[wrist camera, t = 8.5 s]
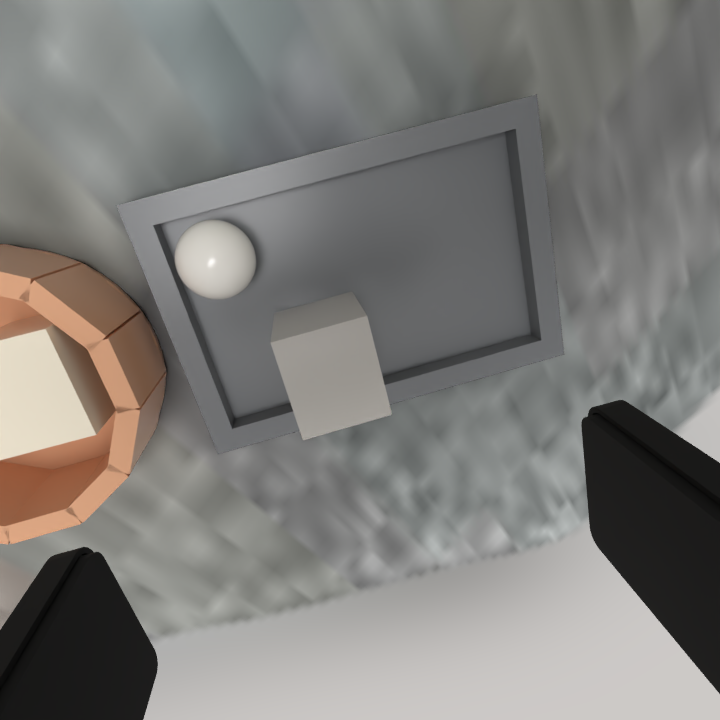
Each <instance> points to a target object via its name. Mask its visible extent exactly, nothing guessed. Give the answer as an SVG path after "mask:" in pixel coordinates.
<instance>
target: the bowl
mask: <svg viewBox="0 0 720 720" xmlns="http://www.w3.org/2000/svg"><path fill="white" fill-rule="evenodd" d="M37 315H42V316H44V317H45V318H46V319H48V320H49V321H50V322H52V323H53V324H54V325H56V326H57V327H58V328H60V329H61V330H62V331H64V332H65V333H66V334H68V335H69V336H70V337H72V338H73V339H74V340H76V341H77V342H78V343H80V344H81V345H82V346H84V347H85V348H86V349H87V350H88V352H89V354H90V356H91V358H92V360H93V363H94V365H95V367H96V369H97V371H98V373H99V375H100V377H101V379H102V381H103V383H104V386H105V388H106V390H107V392H108V394H109V396H110V398H111V400H112V402H113V404H114V406H115V409H116V411H115V412H114V414H113V415H112V416H111V417H110V418H109V420H108V421H107V422H106V423H105V425H104V426H103V427H102V428H101V430H100V431H99V432H98V433H97V435H94V436H90V437H86V438H82V439H79V440H75V441H71V442H67V443H64V444H60V445H56V446H52V447H48V448H45V449H41V450H37V451H33V452H30V453H26V454H22V455H18V456H15V457H11V458H7V459H3V460H0V543H2V544H9V543H11V544H13V543H17V542H20V541H24V540H27V539H31V538H34V537H37V536H41V535H44V534H48V533H51V532H55V531H58V530H62V529H65V528H68V527H72V526H75V525H79V524H81V523H82V522H84V521H85V520H86V519H87V518H88V517H89V516H90V515H91V514H92V513H93V512H94V511H95V510H96V509H97V508H98V507H99V506H100V505H101V504H102V503H103V502H104V501H105V500H106V499H107V498H108V497H109V496H110V495H111V494H112V493H113V492H114V491H115V490H116V489H117V488H118V487H119V486H120V485H121V484H122V483H123V482H124V481H125V480H126V479H127V478H128V477H129V475H130V473H131V471H132V470H133V468H134V466H135V464H136V463H137V461H138V459H139V457H140V456H141V454H142V452H143V450H144V449H145V447H146V445H147V444H148V442H149V440H150V438H151V437H152V435H153V433H154V431H155V430H156V428H157V425H158V419H159V413H160V410H161V408H162V404H163V400H164V396H165V387H166V373H167V372H166V367H165V363H164V358H163V353H162V350H161V347H160V344H159V341H158V338H157V336H156V334H155V332H154V330H153V328H152V326H151V324H150V322H149V321H148V319H147V318H146V316H145V315H144V313H143V312H142V310H141V309H140V308H139V307H138V306H137V305H136V303H135V302H134V301H133V300H132V299H131V298H130V296H128V295H127V294H126V293H125V292H124V291H123V290H122V289H121V288H120V287H119V286H118V285H116V284H115V283H114V282H112V281H111V280H110V279H108V278H107V277H105V276H104V275H103V274H101V273H99V272H98V271H96V270H94V269H92V268H91V267H89V266H87V265H85V264H83V263H81V262H79V261H76V260H74V259H71V258H69V257H66V256H63V255H59V254H56V253H53V252H49V251H43V250H38V249H32V248H21V247H17V246H12V245H8V244H1V245H0V327H2V326H4V325H6V324H8V323H11V322H13V321H17V320H21V319H25V318H29V317H33V316H37Z"/></svg>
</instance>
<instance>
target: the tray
mask: <svg viewBox="0 0 720 720" xmlns="http://www.w3.org/2000/svg"><path fill="white" fill-rule="evenodd" d="M116 206H117V209H118V211H119V214H120V216H121V218H122V221H123V223H124V226H125V228H126V231H127V233H128V236H129V238H130V240H131V243H132V245H133V248H134V250H135V253H136V255H137V258H138V260H139V262H140V265H141V267H142V270H143V272H144V275H145V277H146V280H147V282H148V284H149V287H150V289H151V292H152V294H153V297H154V299H155V302H156V304H157V306H158V309H159V311H160V314H161V316H162V319H163V321H164V324H165V326H166V328H167V331H168V333H169V336H170V338H171V341H172V343H173V346H174V348H175V350H176V353H177V355H178V358H179V360H180V363H181V365H182V368H183V370H184V372H185V375H186V377H187V380H188V382H189V385H190V387H191V390H192V392H193V394H194V397H195V399H196V402H197V404H198V407H199V409H200V412H201V414H202V416H203V419H204V421H205V424H206V426H207V429H208V431H209V433H210V436H211V438H212V441H213V443H214V446H215V448H216V451H217V453H218V454H220V453H224V452H227V451H231V450H234V449H238V448H241V447H245V446H248V445H252V444H255V443H259V442H262V441H266V440H269V439H272V438H276V437H279V436H283V435H286V434H290V433H293V432H297V431H300V430H299V427H298V424H297V421H296V418H295V415H294V412H293V409H292V406H291V403H290V400H289V397H288V394H287V391H286V388H285V385H284V382H283V379H282V376H281V373H280V370H279V367H278V364H277V361H276V358H275V355H274V352H273V349H272V346H271V343H270V342H271V335H272V328H273V321H274V313H276V312H279V311H283V310H287V309H290V308H294V307H297V306H301V305H305V304H308V303H312V302H315V301H319V300H323V299H326V298H330V297H333V296H337V295H341V294H344V293H348V292H351V291H352V292H353V294H354V295H355V297H356V299H357V300H358V302H359V303H360V305H361V307H362V308H363V310H364V311H365V313H366V315H367V317H368V321H369V325H370V329H371V333H372V337H373V341H374V345H375V349H376V353H377V357H378V361H379V365H380V369H381V373H382V376H383V380H384V384H385V388H386V392H387V396H388V400H389V404H394V403H397V402H401V401H404V400H408V399H411V398H414V397H418V396H421V395H425V394H428V393H432V392H435V391H439V390H442V389H446V388H449V387H453V386H456V385H460V384H463V383H466V382H470V381H473V380H477V379H480V378H484V377H487V376H491V375H494V374H498V373H501V372H505V371H508V370H511V369H515V368H518V367H522V366H525V365H529V364H532V363H536V362H539V361H543V360H546V359H550V358H553V357H557V356H560V355H563V354H564V347H563V338H562V328H561V319H560V309H559V300H558V290H557V281H556V271H555V262H554V252H553V243H552V233H551V224H550V214H549V205H548V195H547V185H546V176H545V166H544V157H543V147H542V138H541V128H540V119H539V109H538V100H537V94H536V95H533V96H529V97H525V98H521V99H517V100H514V101H510V102H506V103H502V104H498V105H495V106H491V107H487V108H483V109H479V110H476V111H472V112H468V113H464V114H460V115H457V116H453V117H449V118H445V119H441V120H438V121H434V122H430V123H426V124H423V125H419V126H415V127H411V128H407V129H404V130H400V131H396V132H392V133H388V134H385V135H381V136H377V137H373V138H369V139H366V140H362V141H358V142H354V143H350V144H347V145H343V146H339V147H335V148H332V149H328V150H324V151H320V152H316V153H313V154H309V155H305V156H301V157H297V158H294V159H290V160H286V161H282V162H278V163H275V164H271V165H267V166H263V167H259V168H256V169H252V170H248V171H244V172H240V173H237V174H233V175H229V176H225V177H222V178H218V179H214V180H210V181H206V182H203V183H199V184H195V185H191V186H187V187H184V188H180V189H176V190H172V191H168V192H165V193H161V194H157V195H153V196H149V197H146V198H142V199H138V200H134V201H131V202H127V203H123V204H119V205H116ZM205 220H221V221H225V222H228V223H231V224H233V225H235V226H236V227H238V228H239V229H240V230H242V231H243V232H244V233H245V234H246V235H247V237H248V238H249V239H250V241H251V243H252V245H253V247H254V250H255V254H256V270H255V273H254V276H253V278H252V280H251V282H250V284H249V285H248V286H247V287H246V288H245V289H244V290H243V291H242V292H240V293H239V294H237V295H235V296H233V297H231V298H227V299H219V300H216V299H208V298H205V297H202V296H200V295H198V294H196V293H194V292H193V291H191V290H190V289H189V288H188V287H187V286H186V285H185V284H184V283H183V281H182V280H181V278H180V277H179V275H178V272H177V270H176V266H175V249H176V245H177V243H178V240H179V239H180V237H181V235H182V234H183V233H184V232H185V231H186V230H187V229H188V228H189V227H191V226H192V225H194V224H196V223H198V222H201V221H205Z"/></svg>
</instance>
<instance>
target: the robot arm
mask: <svg viewBox="0 0 720 720" xmlns="http://www.w3.org/2000/svg"><path fill="white" fill-rule="evenodd" d="M582 437H583V449H584V461H585V474H586V486H587V498H588V510H589V523H590V531H591V534H592V537H593V539H594V541H595V543H596V545H597V546H598V548H599V549H600V550H601V552H602V553H603V554H604V555H605V556H606V558H607V559H608V560H609V561H610V562H611V563H612V565H613V566H614V567H615V568H616V570H617V571H618V572H619V573H620V574H621V576H622V577H623V578H624V579H625V580H626V582H627V583H628V584H629V585H630V586H631V588H632V589H633V590H634V591H635V592H636V594H637V595H638V596H639V597H640V598H641V600H642V601H643V602H644V603H645V604H646V606H647V607H648V608H649V609H650V610H651V612H652V613H653V614H654V615H655V616H656V618H657V619H658V620H659V621H660V623H661V624H662V625H663V626H664V627H665V629H666V630H667V631H668V632H669V633H670V635H671V636H672V637H673V638H674V639H675V641H676V642H677V643H678V644H679V645H680V647H681V648H682V649H683V650H684V651H685V653H686V654H687V655H688V656H689V657H690V659H691V660H692V661H693V662H694V663H695V665H696V666H697V667H698V668H699V669H700V671H701V672H702V673H703V674H704V675H705V677H706V678H707V679H708V680H709V681H710V683H711V684H712V685H713V686H714V687H715V689H716V690H717V691H718V692H719V693H720V463H719V462H717V461H716V460H714V459H713V458H711V457H710V456H708V455H707V454H705V453H704V452H702V451H701V450H699V449H698V448H696V447H695V446H693V445H692V444H690V443H689V442H687V441H685V440H684V439H682V438H681V437H679V436H678V435H676V434H675V433H673V432H672V431H670V430H669V429H667V428H666V427H664V426H663V425H661V424H659V423H658V422H656V421H655V420H653V419H652V418H650V417H649V416H647V415H646V414H644V413H643V412H641V411H640V410H638V409H637V408H635V407H634V406H632V405H630V404H629V403H627V402H626V401H623V400H618V401H614V402H610V403H607V404H603V405H599V406H596V407H592V408H591V409H590V410H589V413H588V417H585V418H583V420H582ZM157 666H158V662H157V656H156V652H155V650H154V648H153V646H152V644H151V642H150V640H149V639H148V637H147V635H146V633H145V631H144V630H143V628H142V626H141V624H140V622H139V620H138V619H137V617H136V615H135V613H134V611H133V609H132V608H131V606H130V604H129V602H128V600H127V598H126V597H125V595H124V593H123V591H122V589H121V588H120V586H119V584H118V582H117V580H116V578H115V577H114V575H113V573H112V571H111V569H110V567H109V566H108V564H107V562H106V560H105V558H104V557H103V555H102V554H101V553H99V552H93V551H92V550H91V549H89V548H88V547H82V548H79V549H75V550H71V551H68V552H64V553H60V554H57V555H54V556H52V557H50V558H49V559H48V560H47V562H46V563H45V565H44V566H43V568H42V569H41V570H40V572H39V573H38V575H37V576H36V578H35V579H34V581H33V582H32V584H31V585H30V587H29V588H28V590H27V591H26V593H25V594H24V596H23V597H22V599H21V600H20V602H19V603H18V605H17V606H16V608H15V609H14V611H13V612H12V614H11V615H10V617H9V618H8V619H7V621H6V622H5V624H4V625H3V627H2V628H1V630H0V720H143V719H144V715H145V712H146V708H147V705H148V701H149V698H150V695H151V691H152V688H153V684H154V681H155V677H156V674H157Z"/></svg>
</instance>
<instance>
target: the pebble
mask: <svg viewBox="0 0 720 720" xmlns="http://www.w3.org/2000/svg"><path fill="white" fill-rule="evenodd" d="M175 266H176V270H177V272H178V275H179V277H180V278H181V280H182V281H183V283H184V284H185V285H186V286H187V287H188V288H189V289H190V290H191V291H193V292H194V293H196V294H198V295H200V296H202V297H205V298H208V299H216V300H219V299H227V298H231V297H233V296H235V295H237V294H239V293H240V292H242V291H243V290H244V289H245V288H246V287H247V286H248V285H249V284H250V282H251V280H252V278H253V276H254V273H255V270H256V254H255V250H254V247H253V245H252V243H251V241H250V239H249V238H248V237H247V235H246V234H245V233H244V232H243V231H242V230H240V229H239V228H238V227H236V226H235V225H233V224H231V223H228V222H225V221H221V220H205V221H201V222H198V223H196V224H194V225H192V226H191V227H189V228H188V229H187V230H186V231H185V232H184V233H183V234H182V235H181V237H180V239H179V240H178V243H177V245H176V249H175Z"/></svg>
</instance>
